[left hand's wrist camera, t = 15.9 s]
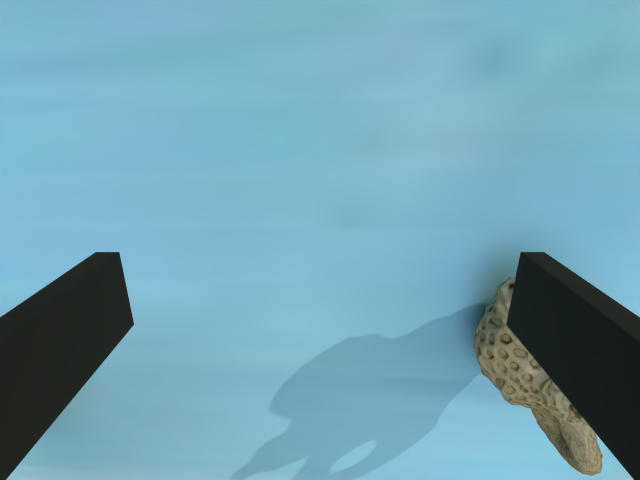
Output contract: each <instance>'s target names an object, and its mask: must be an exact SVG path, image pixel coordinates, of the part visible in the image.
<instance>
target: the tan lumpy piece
mask: <svg viewBox="0 0 640 480" xmlns="http://www.w3.org/2000/svg"><path fill="white" fill-rule="evenodd" d="M514 283H515V278H512V277H509V278H508V280H507V281H506V282H504V283H502V284H501V285H499V286H497V294H496V295H495V296H494V297H495V301H496V302H495V303H493V304H490V305H489V306H487V307H486V311H485V313H484V316H483V317H482V318H481V320H480V322H479V324H478V327H477V330H476V333H475V341H474V348H475V351H476V356H477V360H478V363H479V365H480V367H481V371H482V374H483V375H484V376H486V377H487V378H488V379H489V380H490V381H491V382H492V383H493V385H494V386H495V387H496V388H497V389H498V390H500V392H501V394H502V396H503V397H504V399H505V401H507V402H508V403H510V404H512V405H522V406H524V407H527V408H531V410H532V413H533V415H534V417H535V418H536V420H537V423H538V425H539V426H540V428H541V429H542V430H543V431H544V433H545V434H546V435H547V437H548V439H549V440H550V442H551V443H552V444H553V445H554V446H555V448H556V449H557V450H558V452H559V453H560V454H561V456H562V457H563V458H564V459H565V460H566V461H567V462H568V463H569V464H570V465H571V466H572V467H573V468H575V469H576V470H577V471H579V472H581V473H582V474H586V475H591V476H592V475H595V474H598V473H601V469H602V457H603V456H602V454H601V451H600V448H599V446H598V443H597V436H596V433H595V432H594V430H593V429H592V428H591V427H590V426H589V424H588V423H587V422H586V421H585V420H584V418H583V417H582V416H581V415H580V414H579V412H578V411H577V410H576V409H575V407H574V406H573V405H572V404H571V403H570V401H569V400H568V399H567V398H566V397H565V395H564V394H563V393H562V392H561V390H560V389H559V388H558V387H557V386H556V384H555V383H554V382H553V381H552V380H551V378H550V377H549V376H548V375H547V374H546V372H545V371H544V370H543V369H542V367H541V366H540V365H539V364H538V363H537V361H536V360H535V359H534V358H533V357H532V355H531V354H530V353H529V352H528V350H527V349H526V348H525V347H524V346H523V344H522V343H521V342H520V341H519V340H518V338H517V337H516V336H515V335H514V334H513V332H512V331H511V330H510V329H509V327H508V326H507V325H506V322H507V317H508V312H509V307H510V303H511V298H512V293H513V288H514Z"/></svg>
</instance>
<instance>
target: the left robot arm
mask: <svg viewBox="0 0 640 480" xmlns="http://www.w3.org/2000/svg"><path fill="white" fill-rule="evenodd" d="M133 325H134V322H133V317H132V312H131V307H130V303H129V298H128V293H127V288H126V283H125V278H124V273H123V268H122V263H121V259H120V254H119V252H95V253H94V254H92V255H91V256H90V257H88V258H87V259H85V260H84V261H82V262H81V263H79V264H78V265H76V266H75V267H73V268H72V269H70V270H69V271H68V272H66V273H65V274H63V275H62V276H60V277H59V278H57V279H56V280H54V281H53V282H51V283H50V284H49V285H47V286H46V287H44V288H43V289H41V290H40V291H38V292H37V293H35V294H34V295H32V296H31V297H30V298H28V299H27V300H25V301H24V302H22V303H21V304H19V305H18V306H16V307H15V308H13V309H12V310H10V311H9V312H8V313H6V314H5V315H3V316H2V317H0V480H6V479H7V478H8V477H9V475H10V474H11V473H12V472H13V470H14V469H15V468H16V467H17V466H18V464H19V463H20V462H21V461H22V460H23V458H24V457H25V456H26V455H27V454H28V452H29V451H30V450H31V449H32V447H33V446H34V445H35V444H36V443H37V441H38V440H39V439H40V438H41V437H42V435H43V434H44V433H45V432H46V430H47V429H48V428H49V427H50V426H51V424H52V423H53V422H54V421H55V420H56V418H57V417H58V416H59V415H60V414H61V412H62V411H63V410H64V409H65V407H66V406H67V405H68V404H69V403H70V401H71V400H72V399H73V398H74V397H75V395H76V394H77V393H78V392H79V390H80V389H81V388H82V387H83V386H84V384H85V383H86V382H87V381H88V380H89V378H90V377H91V376H92V375H93V374H94V372H95V371H96V370H97V369H98V367H99V366H100V365H101V364H102V363H103V361H104V360H105V359H106V358H107V357H108V355H109V354H110V353H111V352H112V350H113V349H114V348H115V347H116V346H117V344H118V343H119V342H120V341H121V340H122V338H123V337H124V336H125V335H126V334H127V332H128V331H129V330H130V329H131V327H132V326H133ZM506 325H507V326H508V327H509V329H510V330H511V331H512V332H513V334H514V335H515V336H516V337H517V338H518V340H519V341H520V342H521V343H522V344H523V346H524V347H525V348H526V349H527V350H528V352H529V353H530V354H531V355H532V357H533V358H534V359H535V360H536V361H537V363H538V364H539V365H540V366H541V367H542V369H543V370H544V371H545V372H546V374H547V375H548V376H549V377H550V378H551V380H552V381H553V382H554V383H555V384H556V386H557V387H558V388H559V389H560V390H561V392H562V393H563V394H564V395H565V397H566V398H567V399H568V400H569V401H570V403H571V404H572V405H573V406H574V407H575V409H576V410H577V411H578V412H579V414H580V415H581V416H582V417H583V418H584V420H585V421H586V422H587V423H588V424H589V426H590V427H591V428H592V429H593V430H594V432H595V433H596V434H597V435H598V437H599V438H600V439H601V440H602V441H603V443H604V444H605V445H606V446H607V447H608V449H609V450H610V451H611V452H612V454H613V455H614V456H615V457H616V458H617V460H618V461H619V462H620V463H621V464H622V466H623V467H624V468H625V469H626V470H627V472H628V473H629V474H630V475H631V477H632V478H633V479H634V480H640V317H638V316H637V315H635V314H634V313H632V312H631V311H630V310H628V309H627V308H625V307H624V306H622V305H621V304H619V303H618V302H616V301H615V300H613V299H612V298H610V297H609V296H608V295H606V294H605V293H603V292H602V291H600V290H599V289H597V288H596V287H594V286H593V285H591V284H590V283H589V282H587V281H586V280H584V279H583V278H581V277H580V276H578V275H577V274H575V273H574V272H572V271H571V270H570V269H568V268H567V267H565V266H564V265H562V264H561V263H559V262H558V261H556V260H555V259H553V258H552V257H550V256H549V255H548V254H546V253H545V252H521V254H520V259H519V263H518V268H517V273H516V278H515V283H514V288H513V293H512V298H511V303H510V307H509V312H508V317H507V322H506Z"/></svg>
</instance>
